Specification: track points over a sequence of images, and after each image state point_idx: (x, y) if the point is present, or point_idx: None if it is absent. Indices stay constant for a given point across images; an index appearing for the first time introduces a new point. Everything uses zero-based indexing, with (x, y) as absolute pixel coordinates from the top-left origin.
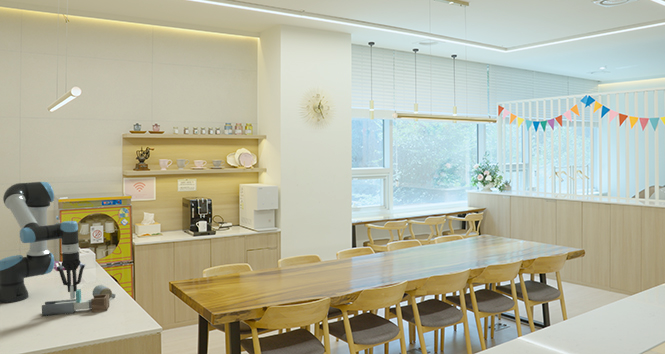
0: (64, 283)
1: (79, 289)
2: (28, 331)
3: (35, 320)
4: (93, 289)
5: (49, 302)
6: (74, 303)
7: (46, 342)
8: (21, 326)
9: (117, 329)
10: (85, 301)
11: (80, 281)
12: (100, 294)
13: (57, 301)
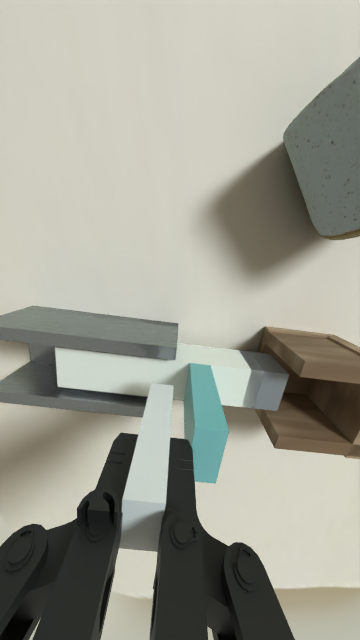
0: (20, 620)
1: (216, 437)
2: (51, 496)
3: None
4: (328, 89)
5: (10, 339)
6: (173, 397)
7: (131, 574)
8: (3, 446)
9: (305, 564)
10: (234, 393)
11: (266, 593)
12: (346, 236)
13: (60, 345)
